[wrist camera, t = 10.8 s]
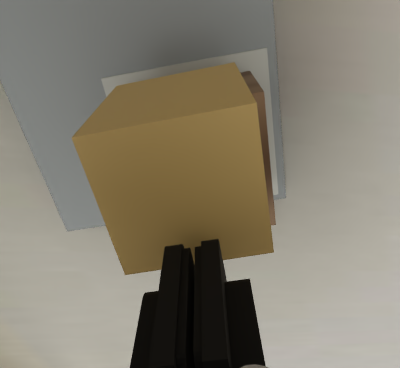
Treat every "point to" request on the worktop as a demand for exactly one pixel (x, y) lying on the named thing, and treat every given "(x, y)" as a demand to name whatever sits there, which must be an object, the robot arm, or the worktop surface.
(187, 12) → the plate
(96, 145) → the ochre block
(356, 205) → the worktop surface
